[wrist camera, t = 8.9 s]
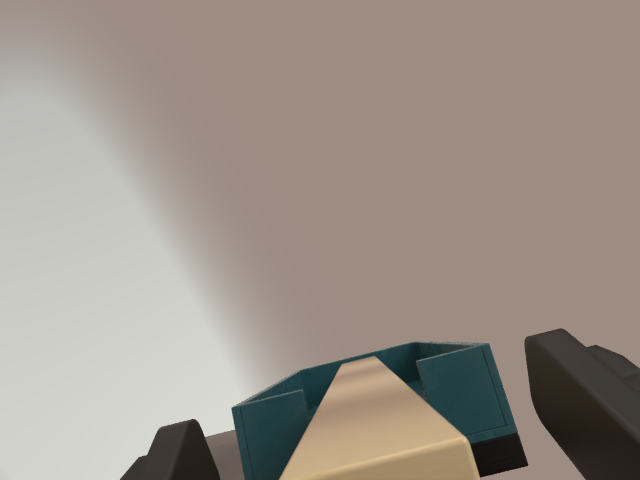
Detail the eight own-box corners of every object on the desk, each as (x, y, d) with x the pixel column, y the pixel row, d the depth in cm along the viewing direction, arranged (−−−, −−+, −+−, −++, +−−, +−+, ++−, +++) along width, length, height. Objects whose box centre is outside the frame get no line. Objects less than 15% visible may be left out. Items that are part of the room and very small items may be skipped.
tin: (518, 433, 14) (489, 343, 15) (248, 499, 15) (230, 407, 15) (428, 381, 32) (417, 340, 33) (306, 411, 32) (297, 370, 33)
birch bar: (539, 671, 5) (468, 435, 5) (320, 722, 5) (273, 483, 5) (384, 391, 30) (375, 355, 31) (349, 399, 30) (341, 364, 31)
